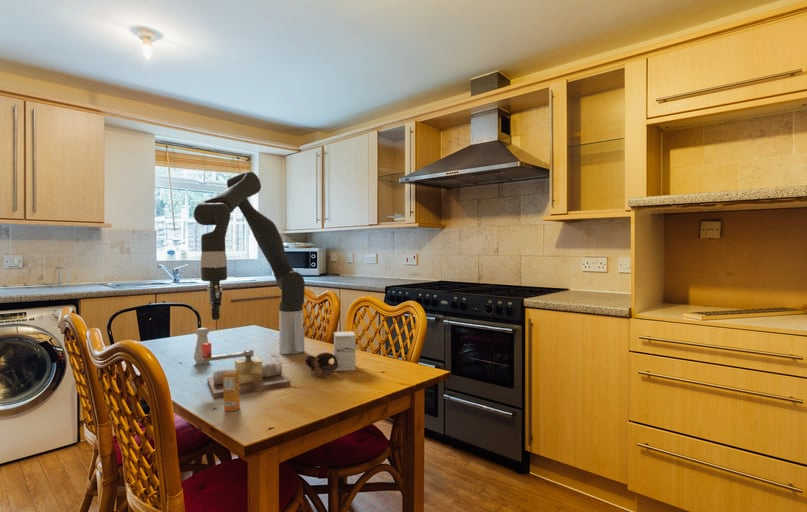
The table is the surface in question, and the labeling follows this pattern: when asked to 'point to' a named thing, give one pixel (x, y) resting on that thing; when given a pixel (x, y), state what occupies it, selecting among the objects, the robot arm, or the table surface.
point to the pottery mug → (322, 364)
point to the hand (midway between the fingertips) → (215, 319)
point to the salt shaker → (200, 345)
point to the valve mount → (250, 377)
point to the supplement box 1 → (231, 391)
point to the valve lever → (207, 354)
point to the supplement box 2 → (345, 350)
